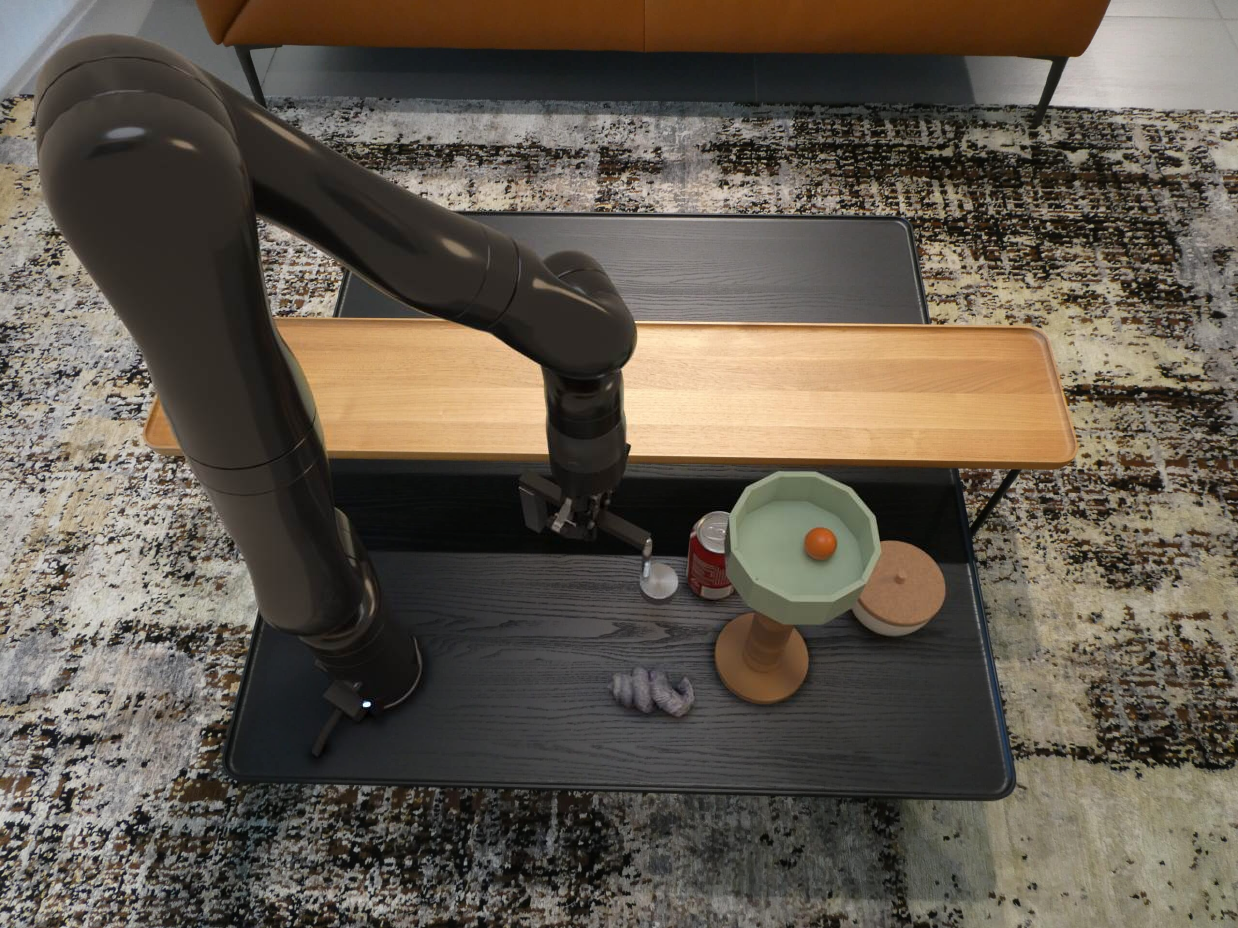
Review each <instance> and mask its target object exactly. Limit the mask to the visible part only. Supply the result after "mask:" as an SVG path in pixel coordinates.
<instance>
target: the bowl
mask: <svg viewBox="0 0 1238 928" xmlns="http://www.w3.org/2000/svg"><path fill="white" fill-rule="evenodd" d="M817 527H824V528H827V529H829V530H830V531H832V532H833V533H834V535H835V536H836V539H837V549H836V551H835V553H834V554H833V555H832V556H831V557H829V558H827V559H824V560H818V559H815V558H812V557H811V556H810V555H809V554H808V553H807V552H806V550H805V547H804V539H805V536H806V535H807V533H808V532H809V531H810V530H812V529H814V528H817ZM880 542H881V540H880V535H879V528H878V523H877V518H876V515H875V514H874V513H873V512H872V511H871V509H870V508H869V507H868V506H867V504H866V503H865V502H864V501H863V500H862V499H861V497H859V495H858V493H856V491H855V490H854V489H853V488H852V487H850V486H848V485H846V484H843V483H842V482H839V481H837V480H835V479H833V478H831V477H828V476H826V475H824V474H822V473H820V472H817V471H793V470H792V471H785V470H784V471H781V470H780V471H778V470H777V471H776V472H774V473H771V474H770V475H768V476H765V477H764V478H762V479H760V480H758V481H755V482H754V483H752V484H750V485H748V486H746V487H745V488H744V490H743V491H742V493H741V495H740V496H739V498H738V500H737V502H736V503H735V505H734V507H733V508H732V510H731V512H730V515H729V518H728V523H727V528H726V534H725V539H724V551H725V568H726V576H727V577H728V579H729V580H730V582H731V583H732V585H733V586H734V587H735V589H736V590H735V591H736V592H737V593H738V595H739V596H740V598H741V599H742V600H743V603H744V604H745V605H746V606H747V607H748V608H750V609H753V610H754V611H755V610H756V611H758V612H760V613H762V614H764V615H766V616H768V617H770V618H772V619H773V620H775V621H777V622H779V623H781V624H788V625H794V626H795V625H798V626H799V625H800V626H801V625H803V626H804V625H805V626H807V625H808V626H822V625H823V626H824V625H825V624H826V623H829V622H831V621H832V620H834V619H835V618H837V617H839V616H841V615H843V614H844V613H846V612H849V610H852V609H851V608H853V607H854V606H855V604H856V602H857V600H858V599H859V597H860V595H861V593H862V591H863V589H864V587H865V585H866V583H867V581H868V579H869V577H870V575H871V573H872V571H873V569H874V567H875V565H876V563H877V561H878V558H879V556H880V554H881V552H882V551H881V545H880Z"/></svg>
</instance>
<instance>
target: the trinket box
mask: <svg viewBox="0 0 1238 928" xmlns="http://www.w3.org/2000/svg"><path fill="white" fill-rule="evenodd" d="M880 545H881V551H882V552H881V554H880V556H879V558H878V561H877V563H876V565H875V567H874V569H873V571H872V573H871V575H870V577H869V579H868V581H867V583H866V585H865V587H864V589H863V591H862V593H861V595H860V597H859V599H858V600H857V602H856V604H855V606H854V607H853V608H851V609H850V610H851V611H852V613H853V614H854V617H855V618H856V619H857V620H858V621H859V622H860V623H861V624H862V625H863V626H864V627H866V628H867V629H869V630H870V631H872V632H873V633H876V634H879V635H882V636H887V637H900V636H901V637H902V636H905V635H909V634H912V633H914V632H917V631H919V630H920V629H921V628H922V627H924V626H925V625H926V624H927V623H928V622H929V621H930V620H932V618H933V617H935V615H936V614H937V613H938V612H939V610H941V608H942V606H943V603H944V601H945V598H946V582H945V578H944V575H943V573H942V571H941V569H940V567H939V566H938V564H937V563H936V561H934V559H933V558H932V557H931V556H930V555H929V554H927V553H926V552H925V551H924V550H922V549H921V548H919V547H917V546H915V545H913V544H911V543H907V542H905V541H900V540H882V541H880Z"/></svg>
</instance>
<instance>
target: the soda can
mask: <svg viewBox="0 0 1238 928" xmlns="http://www.w3.org/2000/svg"><path fill="white" fill-rule="evenodd" d="M730 513H731V512H730ZM730 513H729V512H726V511H720V510H718V511H711V512H709V513H707V514H705V515H704V516H702V517H701V518H700V519H699V520H698V521H697V522H696V523H695V524H694V526H693V527H692V529H691V532H690V534H689V535H690V536H689V545H688V552H687V560H686V561H687V562H686V568H685V569H686V571H685V576H686V577H685V578H686V582H687V584H688V586H689V588H690V589H691V590H692V592H693V593H694V594H696V595H697V596H699V597H701V598H703V599H705V600H712V601H717V600H722V599H725V598H728V597H729V596H731V595H732V594H733V593H734V592H735V591H737V590H736V589H735V587H734V586H733V585H732V583H731V582H730V580H729V579H728V577H727V576H726V568H725V551H724V539H725V534H726V528H727V523H728V518H729V515H730Z"/></svg>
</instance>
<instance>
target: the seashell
mask: <svg viewBox="0 0 1238 928" xmlns="http://www.w3.org/2000/svg"><path fill="white" fill-rule="evenodd" d="M668 675H669V674H668V673H667V671H666V669H665V668H663V667H660V666H654V667H651V668H649V670H648V668H647V667H646V666H644V665H641V664H638V665H635V666H633V667H631V670H630V671H628V672H627V673H625V672H616V673H614V675H613V676H612V681H611V682H610V683H609V684H607V689H609V690H610V692H612V695H613V698H614V699H615V700H616V701H617V702H620V703H621V704H622V705H623V707H626V708H628V709H629V708H637V710H638V711H640V712H641V713H644V714H649V713H652V712H653V711H655V710H656V709H657V708H659V709H662V710H663V711H664V712H666V713H667V714H669V715H671V716H673V717H676V718H679V717H682V716H683V715H684V714H686V713H687V712H689V710H690V709H691V707H692V706H694V701H695V696H694V689H693V685H692V683H691V682H690V680H689V678H688V677H687V676H683V677H681V679H680V680H679V683H678V684H677V685H675V687H674V688H673V686H672V685H671V682H670V681H669V676H668Z"/></svg>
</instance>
